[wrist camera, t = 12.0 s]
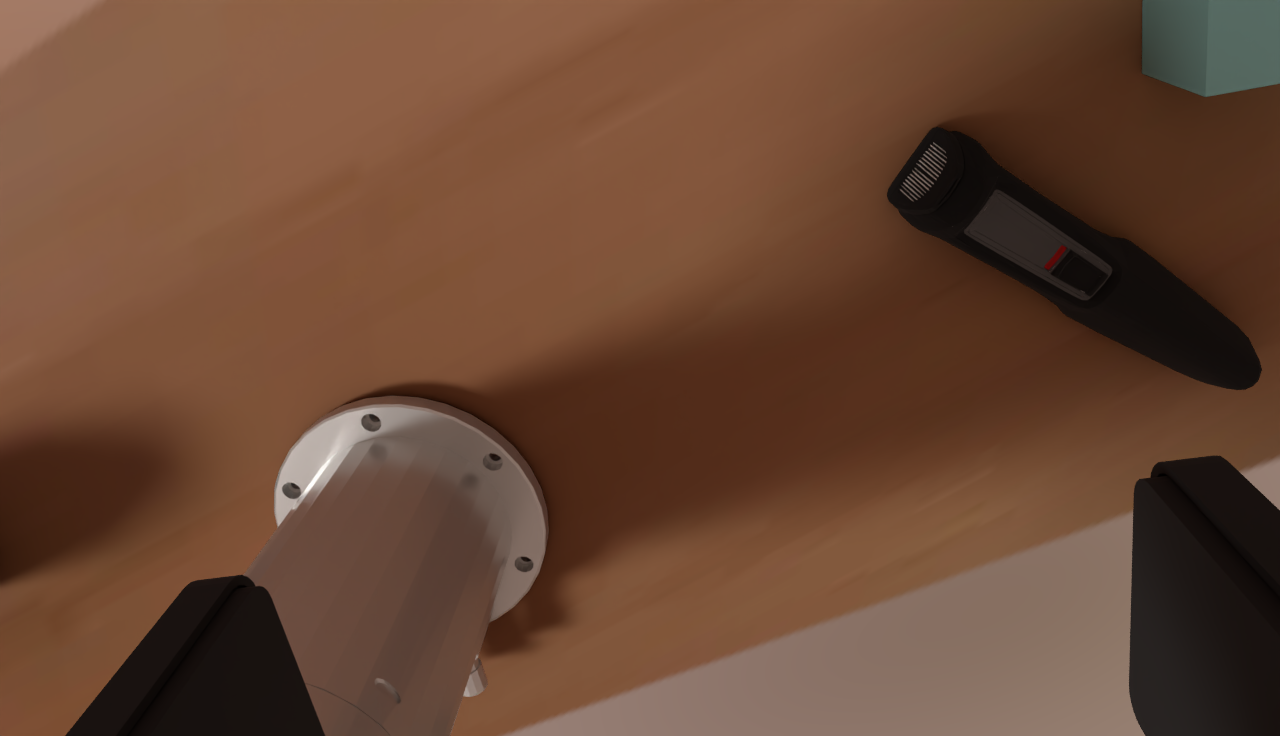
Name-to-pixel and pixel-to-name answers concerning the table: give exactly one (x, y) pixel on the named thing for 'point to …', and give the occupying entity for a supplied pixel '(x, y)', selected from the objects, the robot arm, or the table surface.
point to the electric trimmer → (1068, 261)
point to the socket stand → (1212, 44)
